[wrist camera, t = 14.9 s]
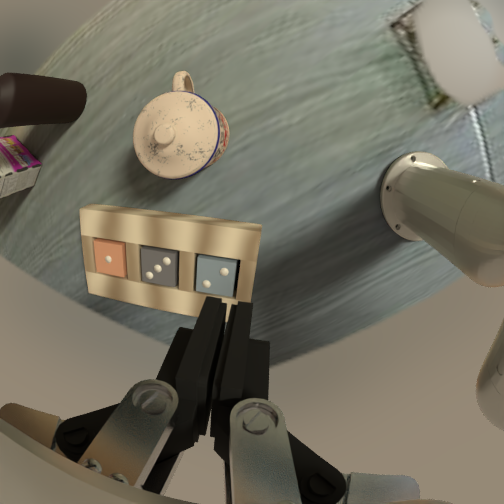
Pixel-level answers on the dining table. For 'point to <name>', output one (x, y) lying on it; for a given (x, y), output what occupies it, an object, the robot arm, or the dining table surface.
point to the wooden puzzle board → (171, 237)
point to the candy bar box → (16, 166)
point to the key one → (110, 257)
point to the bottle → (39, 100)
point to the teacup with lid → (179, 132)
